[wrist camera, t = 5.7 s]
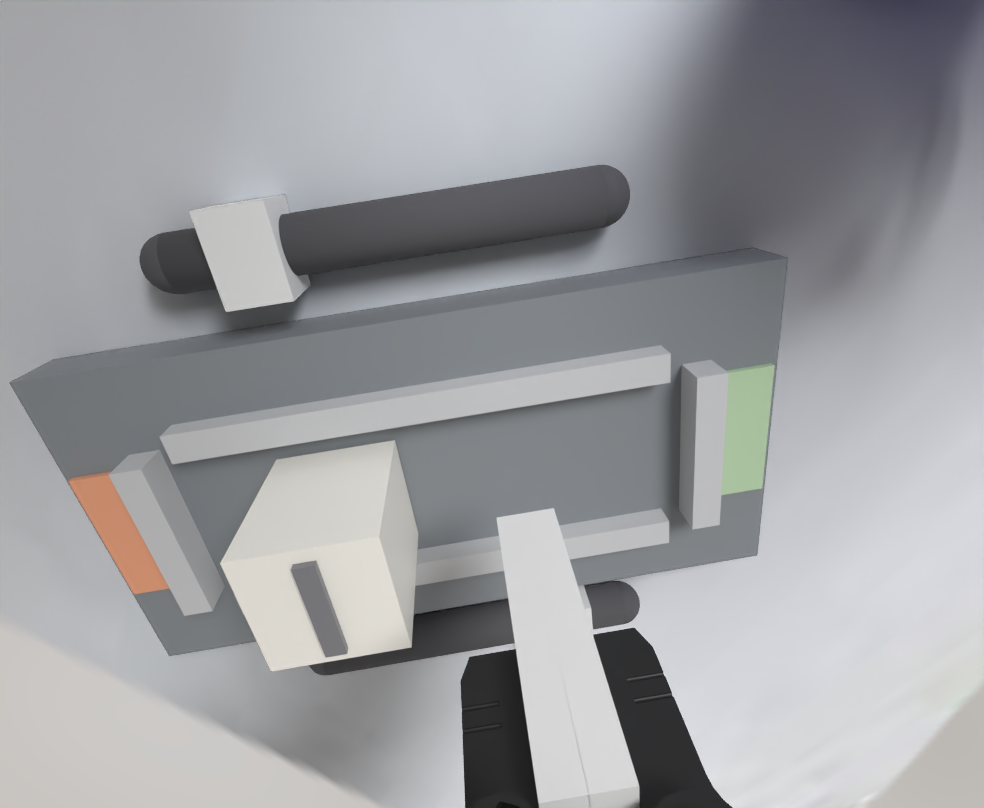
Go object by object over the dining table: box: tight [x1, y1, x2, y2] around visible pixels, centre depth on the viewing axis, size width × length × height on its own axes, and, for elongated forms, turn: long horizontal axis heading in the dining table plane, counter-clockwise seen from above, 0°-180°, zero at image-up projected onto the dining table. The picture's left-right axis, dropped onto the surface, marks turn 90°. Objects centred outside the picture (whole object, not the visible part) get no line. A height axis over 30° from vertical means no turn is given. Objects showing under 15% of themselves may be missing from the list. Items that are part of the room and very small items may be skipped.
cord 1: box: [140, 165, 630, 312], centre depth 16 cm, size 3×15×2 cm, turn 98°
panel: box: [10, 248, 788, 656], centre depth 19 cm, size 12×24×3 cm, turn 98°
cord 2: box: [309, 581, 640, 675], centre depth 23 cm, size 3×15×2 cm, turn 98°
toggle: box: [220, 440, 418, 672], centre depth 16 cm, size 4×4×5 cm
